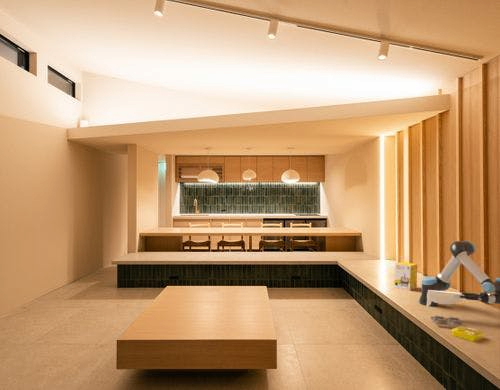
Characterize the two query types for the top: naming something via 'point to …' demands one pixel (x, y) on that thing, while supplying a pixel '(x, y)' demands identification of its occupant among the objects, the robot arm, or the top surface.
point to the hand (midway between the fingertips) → (454, 295)
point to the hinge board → (447, 322)
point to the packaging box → (405, 276)
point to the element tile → (468, 333)
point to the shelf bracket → (442, 297)
